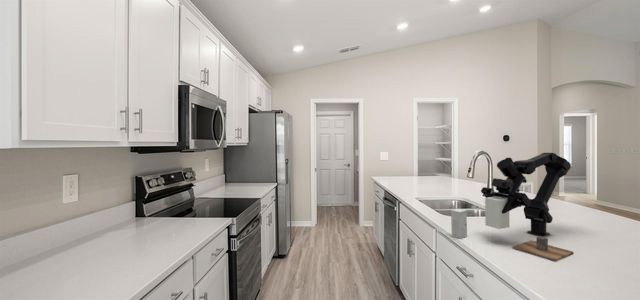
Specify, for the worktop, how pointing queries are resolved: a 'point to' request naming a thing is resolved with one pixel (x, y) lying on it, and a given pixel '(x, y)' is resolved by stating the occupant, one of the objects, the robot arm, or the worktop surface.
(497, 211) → the pale green box
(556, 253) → the flat brown board
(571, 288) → the worktop surface
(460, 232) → the skincare box
